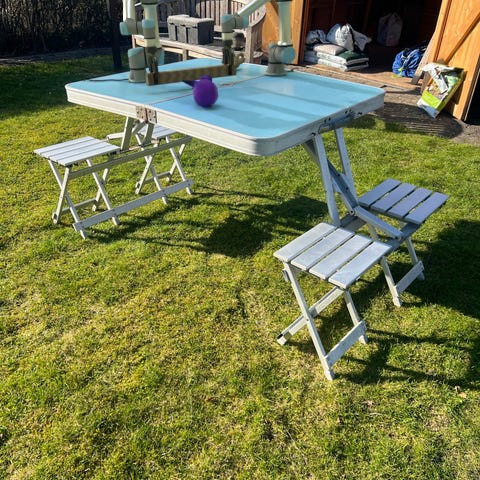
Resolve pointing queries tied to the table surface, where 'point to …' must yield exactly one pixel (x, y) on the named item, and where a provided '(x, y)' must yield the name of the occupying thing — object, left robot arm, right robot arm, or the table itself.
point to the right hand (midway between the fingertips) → (228, 74)
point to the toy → (204, 91)
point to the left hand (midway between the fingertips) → (155, 83)
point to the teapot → (237, 59)
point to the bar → (189, 74)
